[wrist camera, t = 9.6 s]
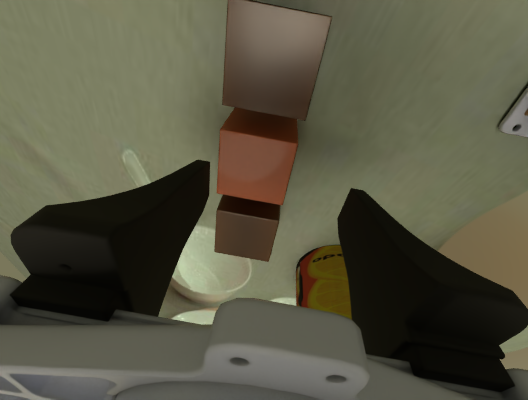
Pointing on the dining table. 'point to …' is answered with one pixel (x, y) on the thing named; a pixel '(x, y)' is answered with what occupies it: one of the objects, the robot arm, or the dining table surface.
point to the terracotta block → (256, 155)
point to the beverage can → (323, 281)
